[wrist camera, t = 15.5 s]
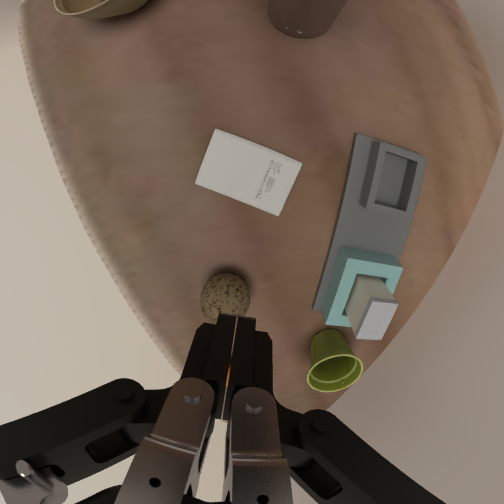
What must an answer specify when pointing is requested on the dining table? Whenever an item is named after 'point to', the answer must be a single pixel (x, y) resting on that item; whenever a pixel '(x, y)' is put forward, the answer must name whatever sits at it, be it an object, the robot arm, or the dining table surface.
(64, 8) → the planter bowl
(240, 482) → the robot arm
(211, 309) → the decorative egg
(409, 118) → the dining table surface
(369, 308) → the plug
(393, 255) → the panel
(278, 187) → the external hard drive
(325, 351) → the plant pot
